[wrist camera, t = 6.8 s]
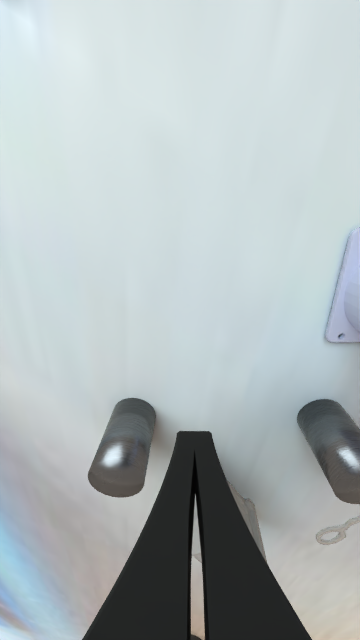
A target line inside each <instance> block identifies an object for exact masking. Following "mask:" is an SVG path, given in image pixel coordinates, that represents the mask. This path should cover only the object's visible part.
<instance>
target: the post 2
mask: <svg viewBox="0 0 360 640" xmlns="http://www.w3.org/2000/svg"><path fill="white" fill-rule="evenodd" d="M297 422H298V424H299V426H300V428H301V430H302V432H303V434H304V436H305V438H306V440H307V442H308V444H309V445H310V447H311V449H312V451H313V453H314V455H315V457H316V459H317V461H318V463H319V465H320V466H321V468H322V470H323V472H324V474H325V476H326V478H327V480H328V482H329V484H330V486H331V487H332V489H333V491H334V493H335V495H336V496H337V497H338V498H339V499H340V500H342V501H344V502H347V503H351V504H360V429H359V428H358V426H357V425H356V424H355V423H354V421H353V420H352V419H351V418H350V416H349V415H348V414H347V413H346V411H345V410H344V409H343V408H342V406H341V405H340V404H339V403H337V402H335V401H333V400H328V399H321V400H316V401H313V402H310V403H308V404H307V405H305V406H304V407H303V408H302V409H301V410H300V411H299V413H298V416H297Z"/></svg>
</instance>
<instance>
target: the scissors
mask: <svg viewBox="0 0 360 640" xmlns="http://www.w3.org/2000/svg"><path fill="white" fill-rule="evenodd" d="M358 522H360V516H358V517H356V518H352V519H349V520H348V521H347V522H346V523H345V524H343V525H339V526H333V527H328V528H325V529H323V530H321V531H319V532H318V533H317V535H316V539H317V541H318V542H319V543H320V544H323V545H329V544H334V543H337V542H339V541H341V540H343V539H344V538H345V537H346V535H345V532H344V531H345V530H347V529H348V528H349V527H350V526H351V525H353V524H355V523H358ZM329 532H339V534H338V535H337V536H336V537H335V538H333V539H331V540H321V539H320V538H321V536H322V535H323V534H326V533H329Z"/></svg>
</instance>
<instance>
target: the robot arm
mask: <svg viewBox="0 0 360 640" xmlns="http://www.w3.org/2000/svg"><path fill="white" fill-rule="evenodd" d="M340 334H342V335H341V336H340V337H338V335H340ZM325 338H326V339H327V340H328V341H330V342H360V227H359V228H356V229H354V230H353V231H352V232H351V233H350V236H349V240H348V244H347V248H346V252H345V256H344V260H343V264H342V268H341V272H340V276H339V280H338V284H337V288H336V292H335V296H334V301H333V305H332V309H331V313H330V317H329V321H328V325H327V329H326V333H325ZM195 495H196V505H197V516H198V527H199V538H200V548H201V559H202V572H203V591H204V622H205V640H312V639H311V637H310V636H309V634H308V633H307V631H306V629H305V628H304V626H303V624H302V623H301V621H300V619H299V618H298V616H297V614H296V613H295V611H294V609H293V608H292V606H291V604H290V603H289V601H288V599H287V597H286V596H285V594H284V592H283V591H282V589H281V587H280V586H279V584H278V582H277V581H276V579H275V577H274V575H273V574H272V572H271V570H270V568H269V566H268V564H267V563H266V561H265V559H264V557H263V555H262V554H261V552H260V550H259V548H258V546H257V544H256V542H255V540H254V538H253V536H252V534H251V533H250V531H249V529H248V527H247V524H246V522H245V520H244V518H243V516H242V514H241V512H240V510H239V508H238V506H237V503H236V501H235V499H234V497H233V494H232V492H231V490H230V487H229V485H228V482H227V480H226V478H225V475H224V473H223V470H222V467H221V465H220V462H219V459H218V456H217V453H216V450H215V446H214V443H213V439H212V434H211V433H210V432H209V431H179V432H178V433H177V438H176V443H175V447H174V451H173V454H172V457H171V461H170V464H169V467H168V470H167V472H166V475H165V478H164V481H163V484H162V486H161V489H160V491H159V494H158V496H157V498H156V501H155V503H154V506H153V508H152V510H151V513H150V515H149V517H148V519H147V521H146V524H145V526H144V528H143V530H142V532H141V534H140V536H139V538H138V540H137V542H136V544H135V546H134V548H133V550H132V552H131V554H130V556H129V558H128V560H127V562H126V564H125V566H124V568H123V570H122V571H121V573H120V575H119V577H118V579H117V581H116V582H115V584H114V586H113V588H112V590H111V591H110V593H109V595H108V597H107V598H106V600H105V602H104V604H103V605H102V607H101V609H100V610H99V612H98V614H97V616H96V617H95V619H94V621H93V622H92V624H91V626H90V627H89V629H88V631H87V633H86V634H85V636H84V638H83V639H82V640H191V558H192V541H193V524H194V507H195Z"/></svg>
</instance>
